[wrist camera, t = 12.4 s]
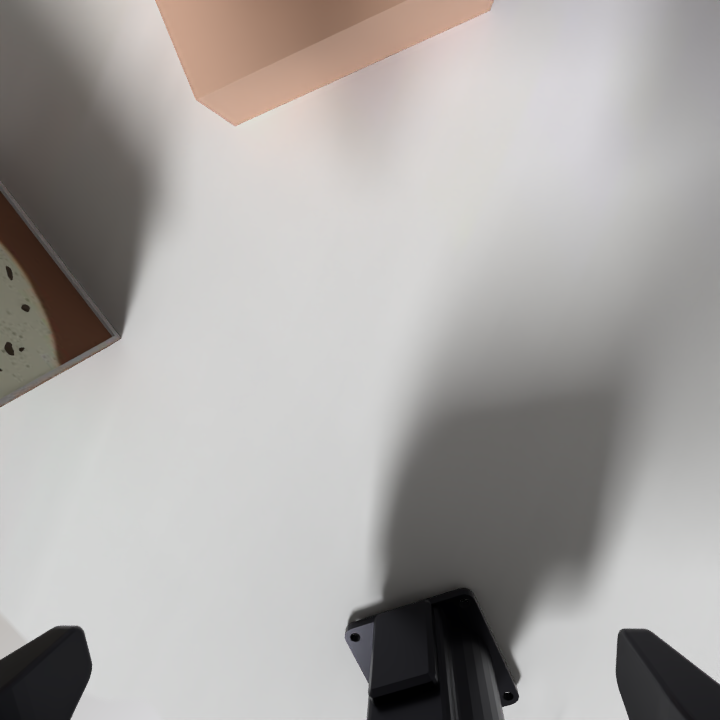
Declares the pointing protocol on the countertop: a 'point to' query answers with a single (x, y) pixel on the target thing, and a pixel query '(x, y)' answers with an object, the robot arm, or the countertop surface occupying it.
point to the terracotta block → (294, 44)
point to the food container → (40, 308)
